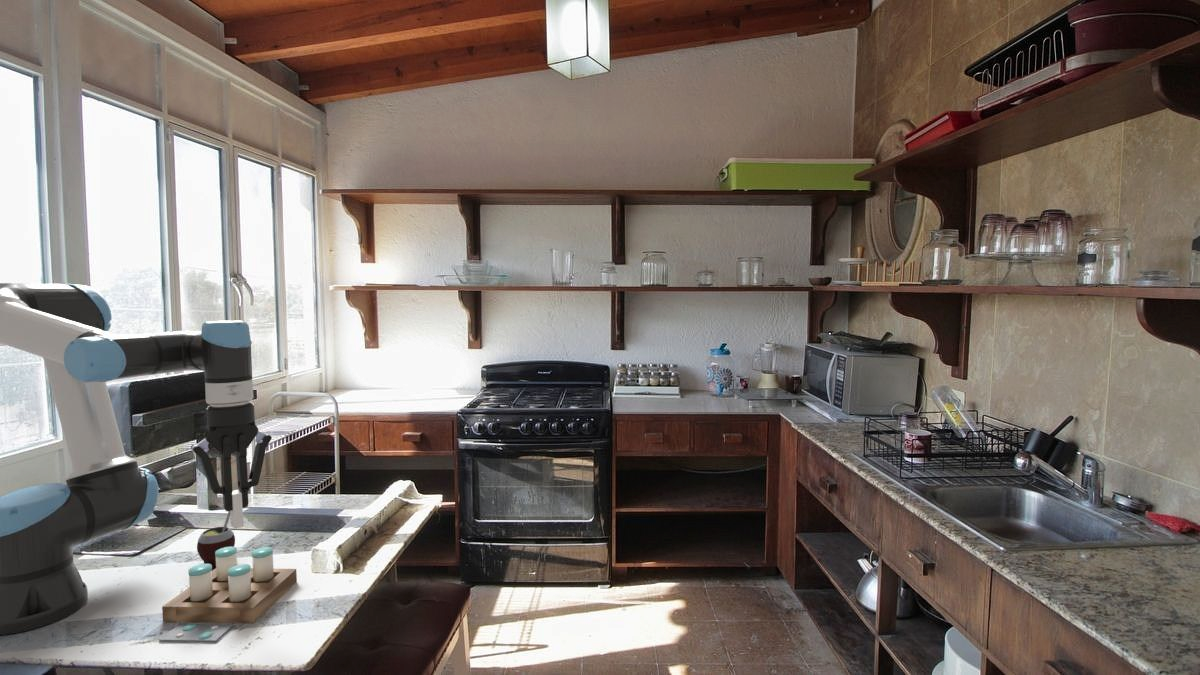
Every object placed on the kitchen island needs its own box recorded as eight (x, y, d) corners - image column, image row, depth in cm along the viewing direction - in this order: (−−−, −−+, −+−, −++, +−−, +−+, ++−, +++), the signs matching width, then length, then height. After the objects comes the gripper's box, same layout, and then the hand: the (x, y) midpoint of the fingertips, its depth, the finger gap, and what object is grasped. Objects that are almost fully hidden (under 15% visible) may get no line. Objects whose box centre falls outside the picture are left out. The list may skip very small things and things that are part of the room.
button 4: (249, 581, 116) (247, 555, 115) (259, 572, 120) (258, 546, 119) (267, 582, 116) (266, 555, 115) (277, 573, 120) (276, 547, 119)
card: (159, 641, 101) (159, 638, 101) (180, 625, 106) (180, 622, 106) (215, 642, 101) (215, 639, 101) (234, 626, 106) (234, 623, 106)
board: (162, 622, 107) (162, 606, 107) (217, 581, 122) (216, 567, 122) (253, 623, 107) (253, 607, 107) (296, 582, 122) (296, 568, 121)
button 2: (212, 581, 116) (210, 554, 116) (224, 572, 120) (223, 546, 119) (230, 581, 116) (229, 554, 116) (241, 572, 120) (240, 546, 119)
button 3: (224, 601, 108) (223, 573, 108) (236, 591, 112) (235, 563, 112) (243, 602, 108) (242, 573, 108) (255, 591, 112) (254, 564, 112)
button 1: (185, 601, 109) (183, 572, 108) (198, 591, 112) (197, 563, 112) (204, 601, 108) (203, 573, 108) (217, 591, 112) (216, 563, 112)
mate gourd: (190, 573, 125) (187, 506, 124) (213, 556, 133) (210, 493, 132) (225, 573, 126) (222, 506, 124) (246, 556, 133) (244, 493, 132)
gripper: (192, 410, 100) (200, 541, 102) (274, 400, 109) (280, 521, 111) (184, 405, 106) (191, 529, 107) (263, 396, 115) (269, 511, 116)
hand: (237, 525), depth 109 cm, fingers closed
